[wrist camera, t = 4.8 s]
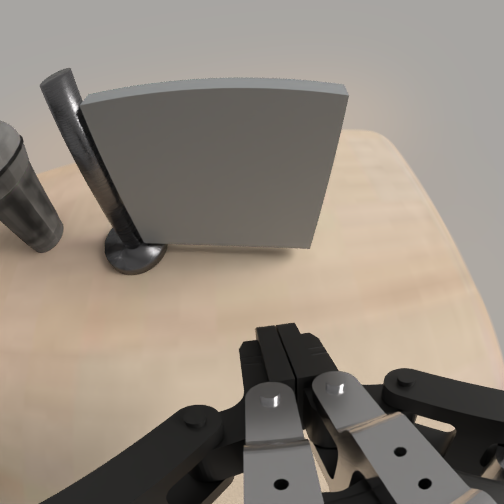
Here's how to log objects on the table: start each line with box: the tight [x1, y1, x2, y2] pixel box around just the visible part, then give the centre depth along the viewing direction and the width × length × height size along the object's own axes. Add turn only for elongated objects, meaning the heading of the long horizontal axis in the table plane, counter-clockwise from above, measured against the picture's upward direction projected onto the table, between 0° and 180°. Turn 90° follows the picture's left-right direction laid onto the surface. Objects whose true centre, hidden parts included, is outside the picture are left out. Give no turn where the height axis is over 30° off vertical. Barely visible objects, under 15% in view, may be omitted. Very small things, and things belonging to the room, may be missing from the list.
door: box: [80, 78, 349, 249], centre depth 19 cm, size 14×2×14 cm, turn 87°
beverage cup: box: [0, 121, 63, 253], centre depth 19 cm, size 7×7×20 cm
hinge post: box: [40, 68, 167, 275], centre depth 19 cm, size 6×6×18 cm
